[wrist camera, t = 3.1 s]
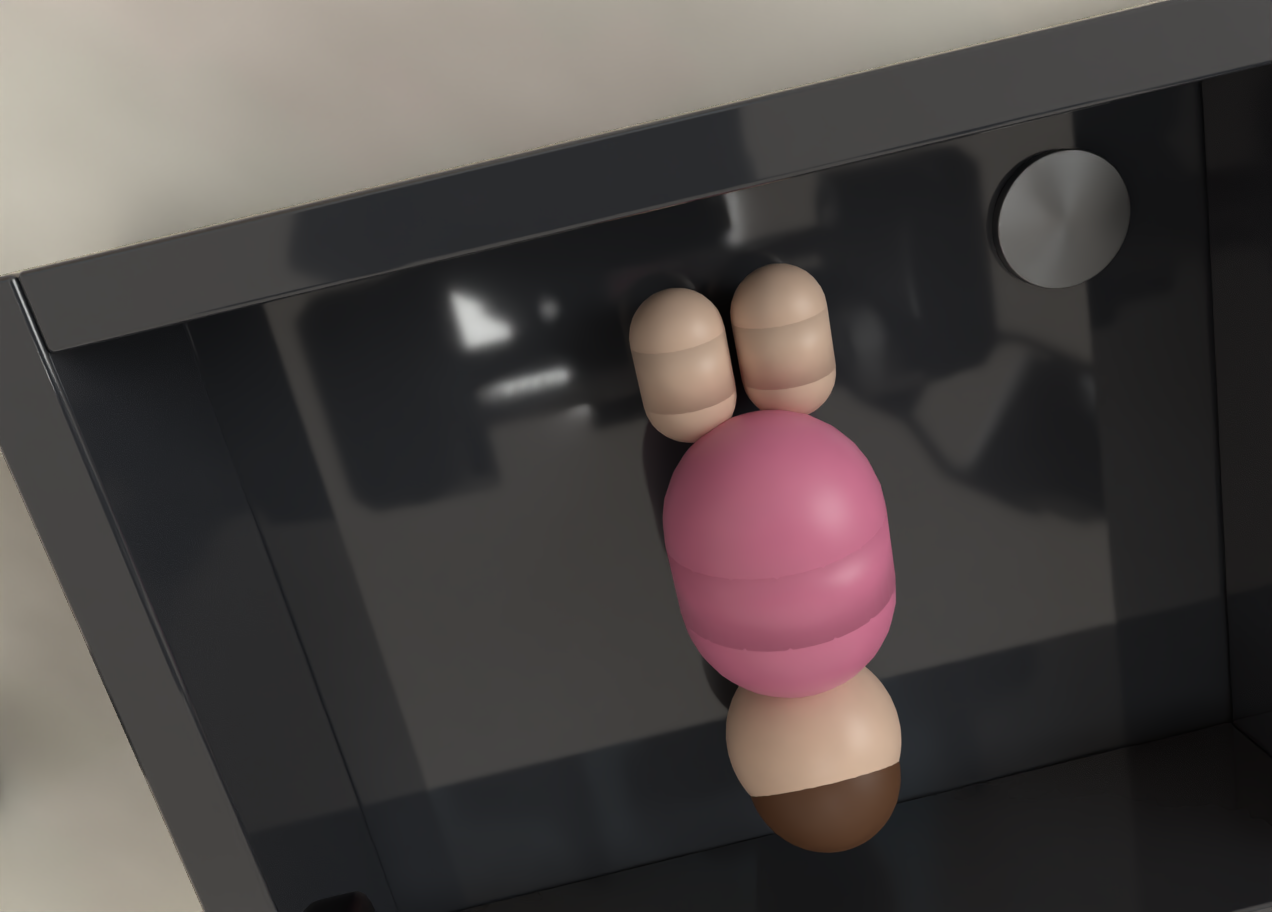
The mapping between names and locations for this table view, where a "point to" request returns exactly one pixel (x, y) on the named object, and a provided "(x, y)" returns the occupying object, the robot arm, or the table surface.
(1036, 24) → the table surface
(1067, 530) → the sink
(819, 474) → the doll
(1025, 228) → the drain
